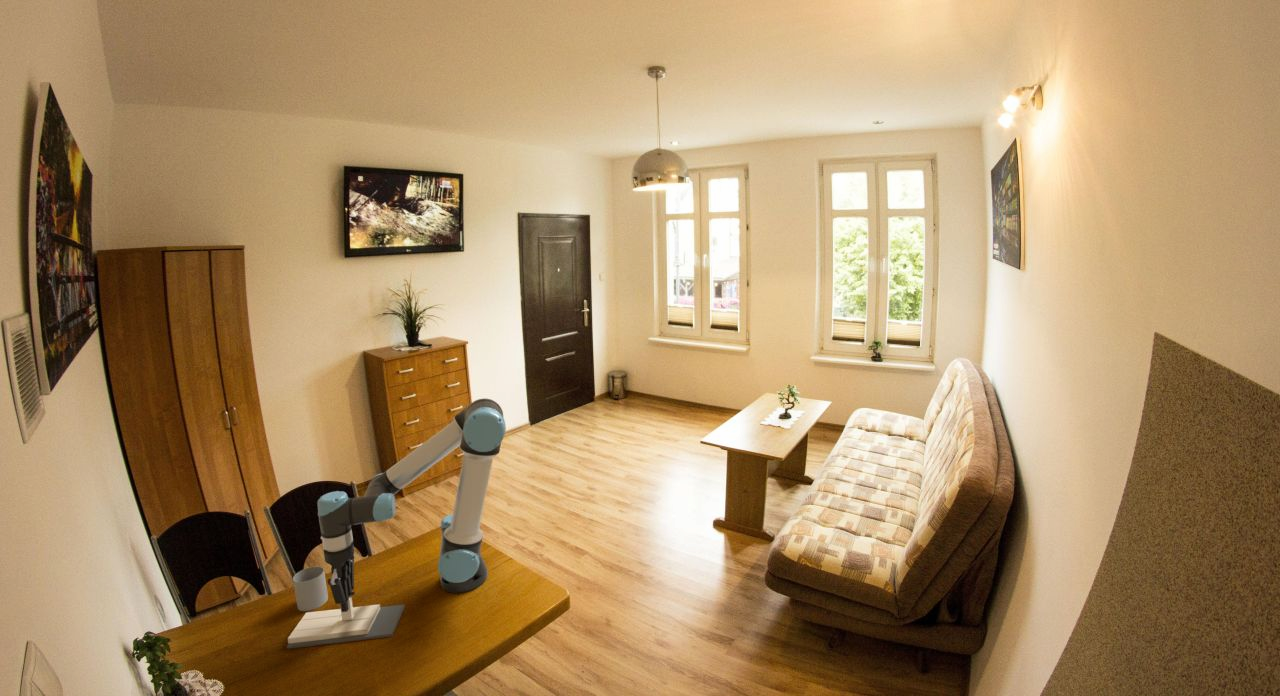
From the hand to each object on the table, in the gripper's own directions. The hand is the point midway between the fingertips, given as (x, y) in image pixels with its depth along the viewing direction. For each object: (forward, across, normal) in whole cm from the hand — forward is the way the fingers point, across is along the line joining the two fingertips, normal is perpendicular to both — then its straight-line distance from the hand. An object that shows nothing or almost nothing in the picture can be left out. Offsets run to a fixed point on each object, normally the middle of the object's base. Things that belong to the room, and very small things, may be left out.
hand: (348, 618), depth 155 cm
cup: (+3, -14, -16) cm, 21 cm away
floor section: (+3, 0, 0) cm, 3 cm away
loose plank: (+2, 0, +2) cm, 3 cm away
